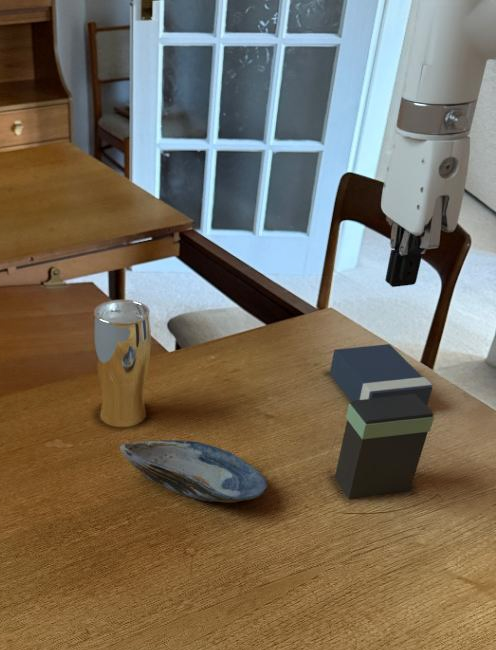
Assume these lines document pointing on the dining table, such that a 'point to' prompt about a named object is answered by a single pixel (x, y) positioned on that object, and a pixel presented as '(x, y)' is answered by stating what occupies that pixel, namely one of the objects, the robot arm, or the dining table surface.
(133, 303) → the beer glass
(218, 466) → the seashell
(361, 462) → the dark grey rectangular block
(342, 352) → the navy blue box
